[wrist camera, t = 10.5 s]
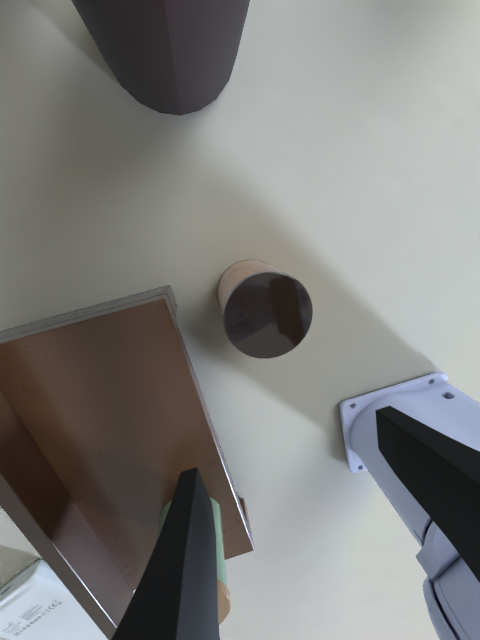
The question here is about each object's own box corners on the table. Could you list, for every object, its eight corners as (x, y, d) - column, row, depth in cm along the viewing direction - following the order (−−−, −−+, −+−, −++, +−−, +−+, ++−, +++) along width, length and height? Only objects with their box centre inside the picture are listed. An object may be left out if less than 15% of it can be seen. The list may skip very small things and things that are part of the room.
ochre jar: (275, 250, 19) (305, 261, 13) (287, 313, 20) (318, 344, 15) (207, 268, 18) (212, 286, 13) (225, 331, 20) (236, 369, 15)
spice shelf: (170, 284, 18) (157, 314, 12) (247, 509, 26) (262, 593, 20) (-1, 331, 18) (-98, 385, 12) (130, 547, 25) (111, 644, 20)
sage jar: (212, 483, 20) (218, 575, 15) (228, 525, 21) (239, 621, 16) (148, 504, 20) (131, 604, 14) (170, 545, 21) (161, 648, 16)
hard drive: (89, 647, 29) (-23, 606, 25) (147, 606, 29) (42, 555, 24) (83, 670, 28) (-37, 630, 24) (144, 627, 27) (32, 578, 23)
